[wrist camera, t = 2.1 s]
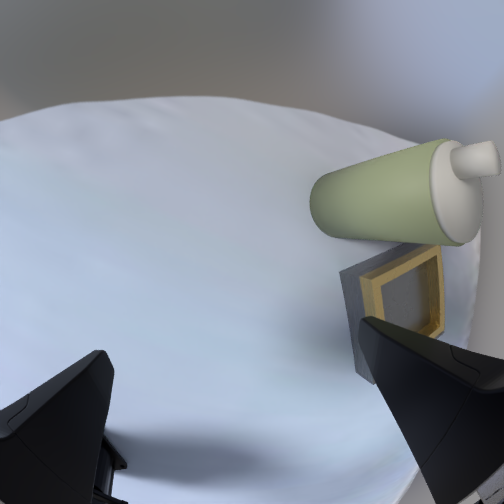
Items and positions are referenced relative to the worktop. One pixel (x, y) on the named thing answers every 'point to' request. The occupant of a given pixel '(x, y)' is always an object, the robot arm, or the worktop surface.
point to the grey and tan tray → (396, 293)
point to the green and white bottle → (408, 195)
